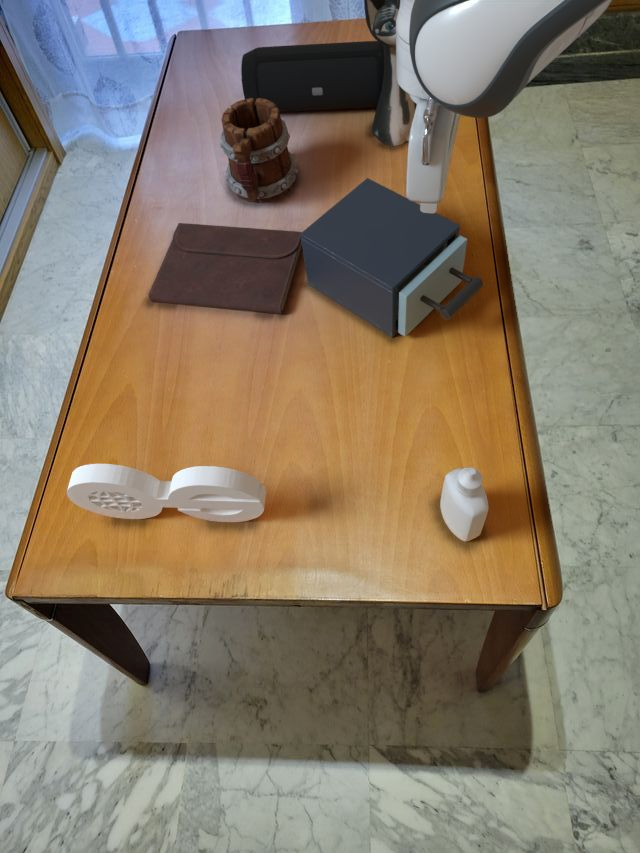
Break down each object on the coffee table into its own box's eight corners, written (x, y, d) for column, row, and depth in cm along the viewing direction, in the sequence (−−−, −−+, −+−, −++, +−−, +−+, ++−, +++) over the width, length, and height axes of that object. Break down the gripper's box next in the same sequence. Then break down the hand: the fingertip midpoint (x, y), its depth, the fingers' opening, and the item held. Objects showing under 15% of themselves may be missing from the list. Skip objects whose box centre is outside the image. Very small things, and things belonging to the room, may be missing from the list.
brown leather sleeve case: (282, 316, 89) (279, 306, 87) (151, 303, 92) (146, 293, 91) (304, 239, 96) (303, 229, 94) (182, 230, 100) (179, 220, 98)
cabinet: (453, 278, 89) (460, 225, 81) (392, 337, 85) (392, 288, 77) (369, 231, 96) (367, 177, 87) (307, 284, 91) (299, 233, 83)
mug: (305, 152, 106) (291, 75, 92) (294, 223, 101) (278, 153, 87) (237, 152, 108) (213, 76, 94) (224, 222, 103) (196, 153, 89)
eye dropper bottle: (478, 496, 72) (493, 446, 62) (480, 543, 70) (496, 499, 59) (439, 495, 73) (448, 445, 63) (440, 542, 70) (449, 497, 60)
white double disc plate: (88, 517, 76) (50, 481, 67) (93, 500, 77) (56, 462, 68) (270, 523, 73) (254, 486, 64) (272, 505, 74) (257, 467, 66)
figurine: (373, 153, 105) (369, -14, 83) (358, 128, 108) (350, -38, 87) (426, 137, 106) (435, -33, 84) (408, 113, 109) (413, -55, 88)
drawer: (490, 297, 86) (499, 255, 79) (434, 355, 82) (438, 315, 75) (380, 236, 94) (380, 193, 87) (324, 286, 90) (319, 245, 83)
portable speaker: (248, 125, 112) (237, 69, 103) (255, 91, 117) (244, 35, 108) (394, 119, 109) (394, 61, 100) (395, 85, 114) (395, 26, 105)
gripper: (463, 127, 54) (451, 248, 66) (488, 0, 64) (474, 125, 76) (390, 123, 55) (391, 243, 67) (425, -1, 65) (421, 123, 77)
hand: (435, 180), depth 71 cm, fingers open, 8 cm apart
